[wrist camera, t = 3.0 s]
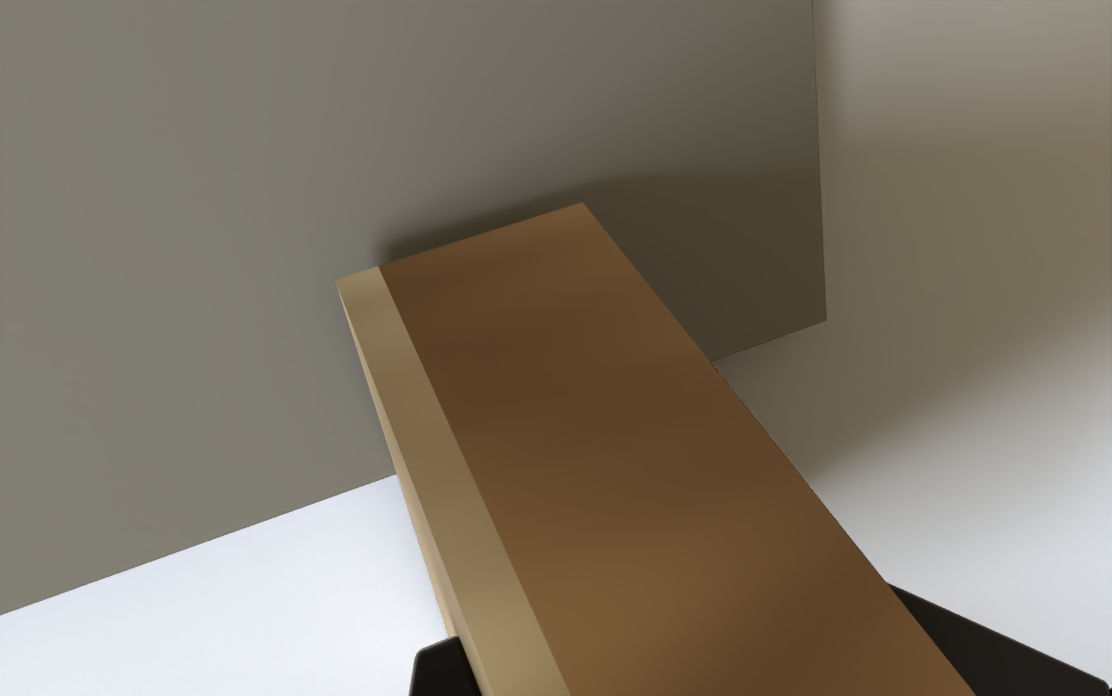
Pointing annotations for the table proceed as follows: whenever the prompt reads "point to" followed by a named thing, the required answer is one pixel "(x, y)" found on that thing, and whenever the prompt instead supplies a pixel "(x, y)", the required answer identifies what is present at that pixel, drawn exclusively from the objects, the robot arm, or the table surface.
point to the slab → (609, 487)
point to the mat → (341, 226)
